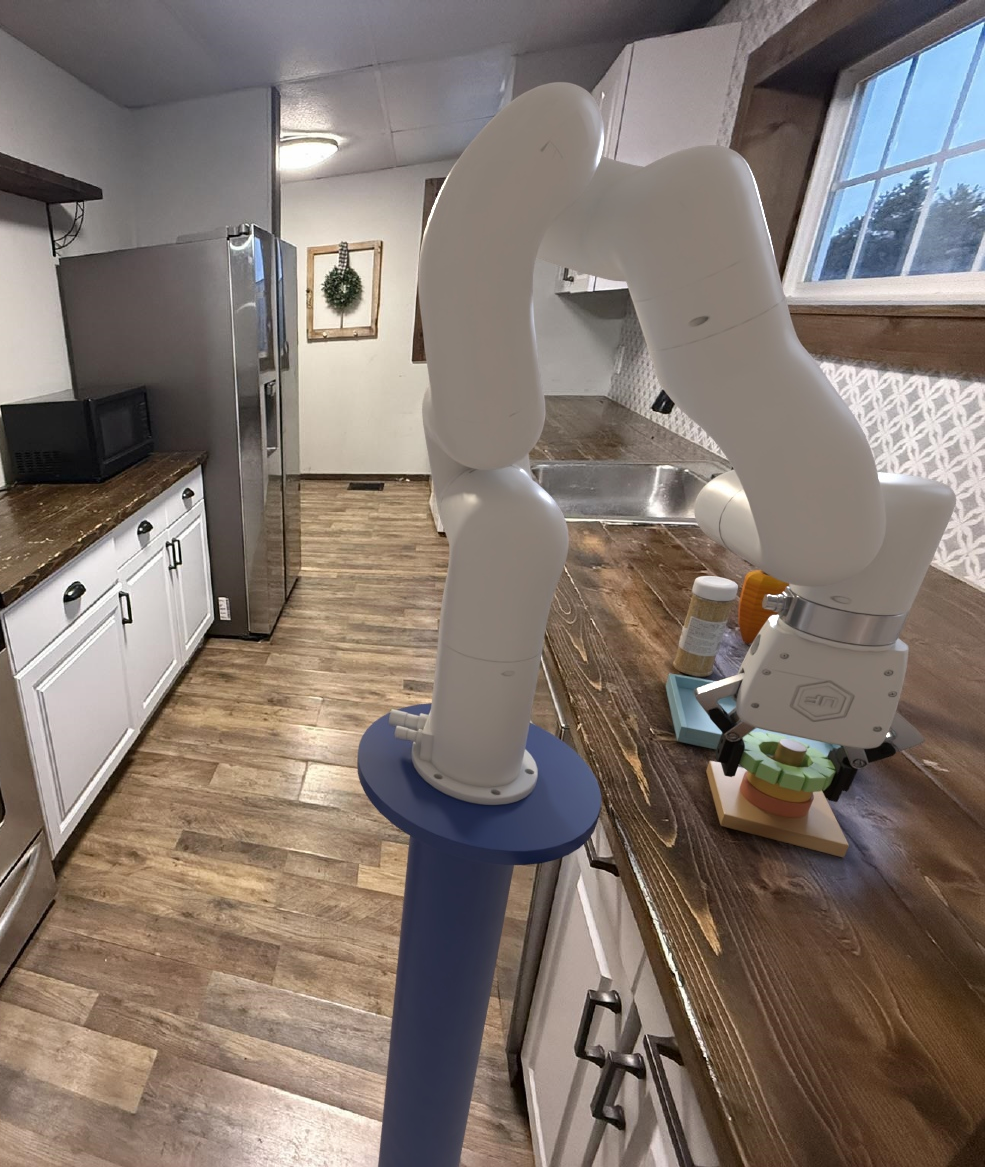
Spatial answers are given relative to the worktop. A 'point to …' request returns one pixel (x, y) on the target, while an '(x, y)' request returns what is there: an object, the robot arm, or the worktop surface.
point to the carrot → (756, 602)
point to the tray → (696, 722)
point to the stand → (776, 806)
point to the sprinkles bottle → (704, 625)
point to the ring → (808, 777)
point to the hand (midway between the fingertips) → (775, 778)
